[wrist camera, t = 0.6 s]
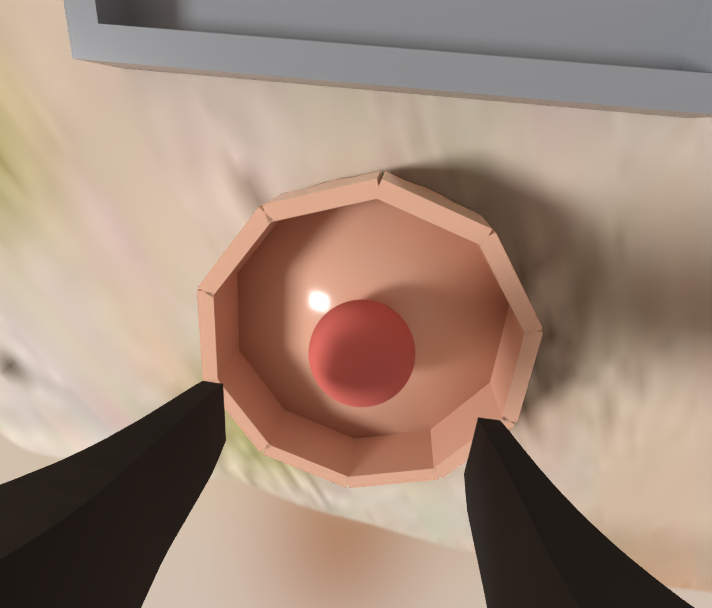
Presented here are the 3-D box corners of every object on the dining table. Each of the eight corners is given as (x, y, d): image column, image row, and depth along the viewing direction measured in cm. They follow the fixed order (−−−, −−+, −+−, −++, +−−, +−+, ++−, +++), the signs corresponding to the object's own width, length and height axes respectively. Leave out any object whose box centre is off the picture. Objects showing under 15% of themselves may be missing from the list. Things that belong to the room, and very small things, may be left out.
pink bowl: (549, 185, 16) (581, 199, 13) (479, 454, 21) (492, 508, 18) (226, 153, 17) (188, 159, 14) (235, 420, 22) (208, 467, 19)
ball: (420, 290, 17) (425, 336, 13) (407, 375, 19) (408, 437, 15) (321, 278, 17) (299, 321, 14) (316, 364, 19) (295, 422, 15)
